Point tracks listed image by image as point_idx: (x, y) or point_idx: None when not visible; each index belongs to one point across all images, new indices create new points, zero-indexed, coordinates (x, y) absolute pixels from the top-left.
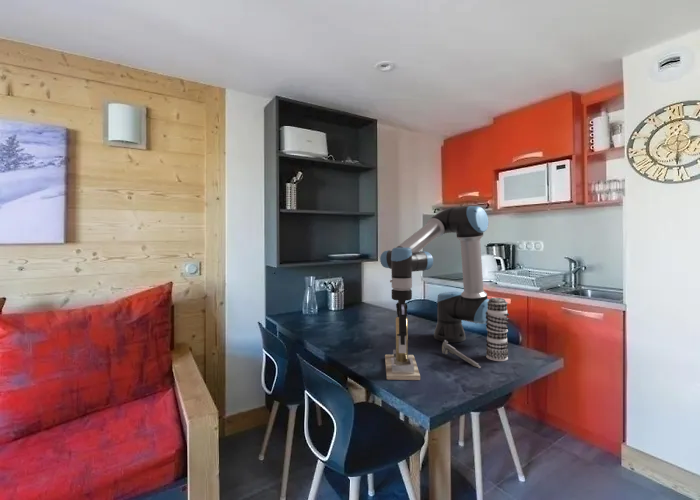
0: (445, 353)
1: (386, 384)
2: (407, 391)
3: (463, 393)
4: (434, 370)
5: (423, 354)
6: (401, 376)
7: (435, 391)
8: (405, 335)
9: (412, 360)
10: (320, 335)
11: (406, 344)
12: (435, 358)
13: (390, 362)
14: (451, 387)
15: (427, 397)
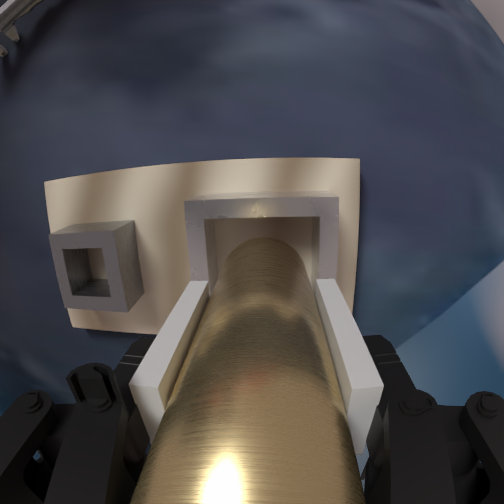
0: (15, 39)
1: (392, 322)
2: (459, 238)
3: (455, 18)
4: (208, 66)
5: (13, 133)
6: (355, 262)
7: (460, 116)
8: (483, 402)
9: (237, 198)
10: None
11: (307, 305)
12: (52, 71)
13: (167, 312)
14: (415, 35)
15: (500, 165)
